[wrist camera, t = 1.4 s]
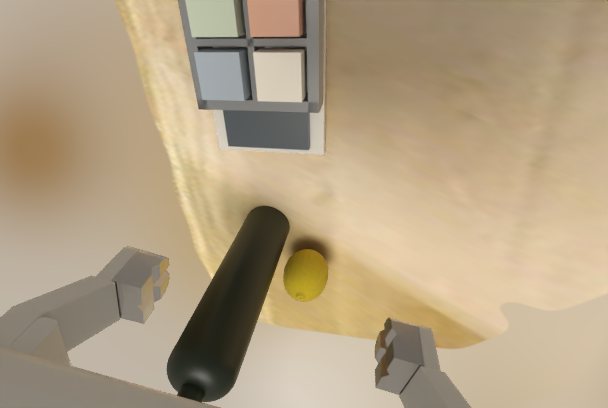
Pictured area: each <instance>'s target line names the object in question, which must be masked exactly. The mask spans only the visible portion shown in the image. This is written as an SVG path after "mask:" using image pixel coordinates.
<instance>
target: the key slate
mask: <svg viewBox="0 0 608 408" xmlns="http://www.w3.org/2000/svg"><path fill="white" fill-rule="evenodd" d="M194 56H195V61H196V67H197V72H198V78H199V83H200V89H201V94H202V100H230V101H245V100H246V99H247V98H248V97H249V96H251V95H252V91H251V81H250V72H249V62H248V53H247V48H204V49H202V50H199V51H196V52H194Z"/></svg>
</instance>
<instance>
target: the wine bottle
mask: <svg viewBox="0 0 608 408" xmlns="http://www.w3.org/2000/svg"><path fill="white" fill-rule="evenodd" d="M288 233H289V222H288V220H287V218H286V217H285V216H284V215H283V214H282V213H281V212H280V211H278V210H277V209H274V208H272V207H266V206H262V207H257V208H255V209H253V210H252V211H251V212H250V213H249V215H248V216H247V218H246V220H245V222H244V223H243V225H242V227H241V229H240V231H239V232H238V234H237V236H236V238H235V240H234V241H233V243H232V245H231V247H230V249H229V250H228V252H227V254H226V256H225V258H224V259H223V261H222V263H221V265H220V267H219V268H218V270H217V272H216V274H215V276H214V277H213V279H212V281H211V283H210V285H209V286H208V288H207V290H206V292H205V293H204V295H203V297H202V299H201V301H200V302H199V304H198V306H197V308H196V310H195V311H194V313H193V315H192V317H191V319H190V320H189V322H188V324H187V326H186V328H185V329H184V331H183V333H182V335H181V337H180V339H179V340H178V342H177V344H176V345H175V347H174V349H173V351H172V353H171V355H170V357H169V359H168V363H167V375H168V379H169V381H170V383H171V385H172V386H173V388H174V389H175V390H176V391H178V394H177V396H180V397H184V398H187V399H191V400H194V401H198V402H211V401H215V400H218V399H220V398H222V397H224V396H225V395H226V394H227V393H228V392H229V391H230V390H231V389H232V388H233V386H234V384H235V382H236V379H237V377H238V374H239V371H240V368H241V365H242V362H243V360H244V357H245V354H246V351H247V348H248V346H249V343H250V340H251V337H252V334H253V332H254V329H255V326H256V323H257V320H258V317H259V315H260V312H261V309H262V306H263V303H264V300H265V298H266V295H267V292H268V289H269V286H270V283H271V281H272V278H273V275H274V272H275V269H276V267H277V264H278V261H279V258H280V255H281V252H282V250H283V247H284V244H285V241H286V238H287V235H288Z"/></svg>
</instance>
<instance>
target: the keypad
mask: <svg viewBox="0 0 608 408" xmlns="http://www.w3.org/2000/svg"><path fill="white" fill-rule="evenodd" d="M178 3H179V8H180V14H181V19H182V24H183V29H184V35H185V40H186V45H187V50H188V55H189V61H190V66H191V71H192V76H193V82H194V87H195V92H196V97H197V102H198V108H199V109H207V110H213V115H214V121H215V126H216V132H217V138H218V144H219V150H239V151H258V152H278V153H297V154H317V155H324V153H325V98H326V0H303V3H304V34H303V35H301V36H300V37H251V36H250V25H249V15H248V5H247V0H243V10H244V20H245V29H246V34H244V35H242V36H239V37H192V35H191V29H190V24H189V18H188V13H187V7H186V2H185V0H178ZM204 48H247V53H248V62H249V72H250V81H251V91H252V95H251V96H249V97H248V98H247V99H246V100H245V101H230V100H202V94H201V89H200V83H199V78H198V72H197V67H196V61H195V56H194V52H196V51H199V50H202V49H204ZM260 48H305V60H306V97H305V98H304V100H303V102H267V101H258V99H257V89H256V79H255V68H254V58H253V52H255V51H257V50H259V49H260Z"/></svg>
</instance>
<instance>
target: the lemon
mask: <svg viewBox="0 0 608 408" xmlns="http://www.w3.org/2000/svg"><path fill="white" fill-rule="evenodd" d="M327 279H328V266H327V263H326V261H325V259H324V258H323V256H322V255H321V254H320V253H318V252H317V251H314V250H311V249H303V250H299V251H297V252H296V253H294V254H293V255H292V256H291V257H290V258H289V260H288V262H287V264H286V266H285V269H284V286H285V289H286V291H287V293H288V294H289V295H290V296H291V297H292V298H294V299H296V300H298V301H303V302H306V301H311V300H314V299H315V298H317V297H318V296H319V295H320V294H321V293H322V291H323V290H324V288H325V285H326V283H327Z"/></svg>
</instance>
